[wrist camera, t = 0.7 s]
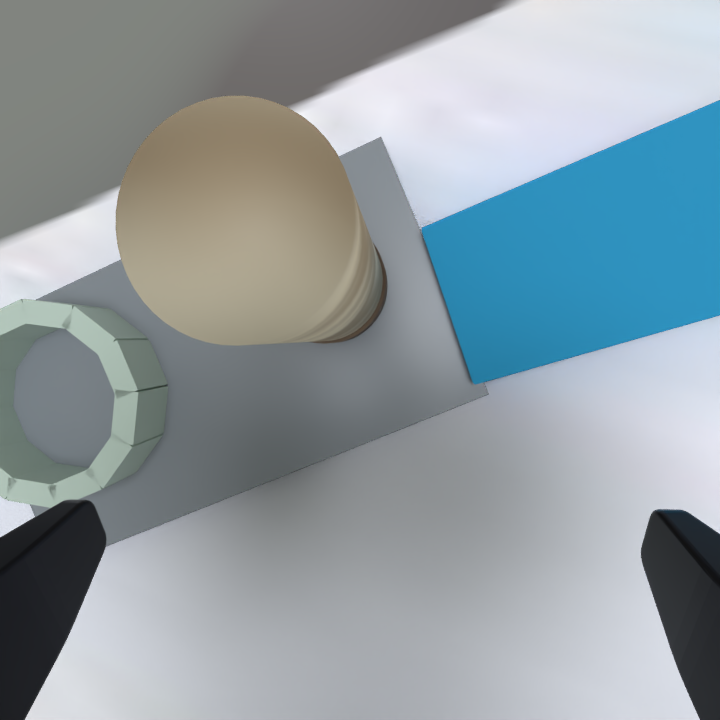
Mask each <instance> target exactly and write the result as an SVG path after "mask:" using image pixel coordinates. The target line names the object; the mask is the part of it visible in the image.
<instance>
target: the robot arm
mask: <svg viewBox="0 0 720 720" xmlns="http://www.w3.org/2000/svg"><path fill="white" fill-rule="evenodd" d="M106 541H107V538H106V532H105V530H104V527H103V525H102V522H101V520H100V517H99V515H98V512H97V510H96V507H95V505H94V504H93V503H92V502H91V501H89V500H76V499H69V500H64V501H62V502H60V503H58V504H57V505H55V506H53V507H52V508H50V509H48V510H46V511H45V512H43V513H41V514H40V515H38V516H36V517H34V518H33V519H31V520H29V521H28V522H26V523H24V524H22V525H21V526H19V527H17V528H16V529H14V530H12V531H10V532H9V533H7V534H5V535H4V536H2V537H0V720H25V718H26V716H27V714H28V712H29V711H30V709H31V707H32V705H33V703H34V701H35V699H36V697H37V695H38V694H39V692H40V690H41V688H42V686H43V684H44V682H45V680H46V678H47V677H48V675H49V673H50V671H51V669H52V667H53V665H54V663H55V661H56V660H57V658H58V656H59V654H60V652H61V650H62V648H63V646H64V644H65V642H66V640H67V638H68V635H69V633H70V631H71V629H72V627H73V624H74V622H75V620H76V617H77V615H78V613H79V610H80V608H81V605H82V603H83V601H84V598H85V596H86V593H87V591H88V589H89V586H90V584H91V582H92V579H93V577H94V574H95V572H96V570H97V567H98V565H99V562H100V560H101V558H102V555H103V553H104V550H105V547H106ZM641 558H642V563H643V567H644V570H645V573H646V576H647V579H648V582H649V585H650V588H651V591H652V594H653V597H654V600H655V603H656V606H657V609H658V612H659V615H660V618H661V621H662V624H663V627H664V630H665V633H666V636H667V639H668V642H669V645H670V648H671V651H672V654H673V657H674V660H675V662H676V665H677V668H678V670H679V673H680V675H681V678H682V680H683V682H684V685H685V687H686V689H687V692H688V694H689V696H690V698H691V701H692V703H693V705H694V707H695V710H696V712H697V714H698V716H699V718H700V720H720V534H719V533H718V532H716V531H715V530H713V529H712V528H710V527H709V526H707V525H706V524H704V523H703V522H701V521H700V520H699V519H697V518H696V517H694V516H693V515H691V514H690V513H688V512H686V511H683V510H668V509H658V510H655V511H653V513H652V514H651V516H650V519H649V522H648V526H647V529H646V533H645V536H644V540H643V543H642V548H641Z"/></svg>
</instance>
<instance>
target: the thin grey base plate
mask: <svg viewBox="0 0 720 720" xmlns="http://www.w3.org/2000/svg"><path fill="white" fill-rule="evenodd" d="M339 159H340V161H341V163H342V164H343V166H344V169H345V171H346V174H347V177H348V179H349V182H350V184H351V187H352V190H353V192H354V195H355V197H356V200H357V203H358V205H359V208H360V211H361V213H362V216H363V218H364V221H365V224H366V226H367V229H368V231H369V234H370V237H371V239H372V242H373V243H374V245H375V246H376V248H377V250H378V251H379V253H380V256H381V258H382V261H383V264H384V267H385V270H386V275H387V283H388V287H387V296H386V301H385V304H384V307H383V309H382V311H381V313H380V315H379V316H378V318H377V320H376V321H375V322H374V323H373V324H372V326H370V327H369V328H368V329H367V330H366V331H365V332H363V333H362V334H361V335H359V336H357V337H355V338H353V339H350V340H347V341H343V342H337V343H326V344H323V343H312V342H298V343H279V344H259V345H240V346H233V345H219V344H213V343H207V342H204V341H201V340H198V339H194V338H192V337H189V336H187V335H185V334H183V333H181V332H179V331H177V330H176V329H174V328H172V327H171V326H169V325H168V324H166V323H165V322H164V321H162V320H161V319H160V318H159V317H158V316H157V315H155V314H154V313H153V312H152V311H151V310H150V308H149V307H148V306H147V305H146V304H145V303H144V302H143V301H142V299H141V298H140V296H139V295H138V293H137V292H136V291H135V289H134V287H133V286H132V284H131V282H130V280H129V278H128V276H127V274H126V271H125V269H124V266H123V263H122V261H121V260H119V261H117V262H115V263H113V264H111V265H108V266H106V267H104V268H102V269H100V270H98V271H96V272H94V273H91V274H89V275H87V276H85V277H83V278H81V279H79V280H77V281H75V282H72V283H70V284H68V285H66V286H64V287H62V288H60V289H58V290H55V291H53V292H51V293H49V294H47V295H45V296H43V297H41V298H39V299H36V300H29V299H20V300H18V301H16V302H14V303H12V304H10V305H8V306H6V307H3V308H1V309H0V496H1V497H2V498H3V499H7V500H8V501H14V502H19V503H25V504H30V506H31V508H32V511H33V513H34V515H35V517H36V516H38V515H40V514H41V513H43V512H45V511H46V510H48V509H50V508H52V507H53V506H55V505H57V504H58V503H60V502H62V501H64V500H69V499H76V500H89V501H91V502H92V503H93V504H94V505H95V507H96V510H97V512H98V515H99V517H100V520H101V522H102V525H103V527H104V530H105V532H106V538H107V541H106V546H109V545H111V544H114V543H116V542H119V541H121V540H124V539H126V538H129V537H131V536H134V535H136V534H139V533H141V532H144V531H146V530H149V529H151V528H154V527H156V526H159V525H161V524H164V523H166V522H169V521H171V520H174V519H176V518H179V517H181V516H184V515H187V514H189V513H192V512H194V511H197V510H199V509H202V508H204V507H207V506H209V505H212V504H214V503H217V502H219V501H222V500H224V499H227V498H229V497H232V496H234V495H237V494H239V493H242V492H244V491H247V490H249V489H252V488H254V487H257V486H259V485H262V484H264V483H267V482H269V481H272V480H275V479H277V478H280V477H282V476H285V475H287V474H290V473H292V472H295V471H297V470H300V469H302V468H305V467H307V466H310V465H312V464H315V463H317V462H320V461H322V460H325V459H327V458H330V457H332V456H335V455H337V454H340V453H342V452H345V451H347V450H350V449H352V448H355V447H357V446H360V445H363V444H365V443H368V442H370V441H373V440H375V439H378V438H380V437H383V436H385V435H388V434H390V433H393V432H395V431H398V430H400V429H403V428H405V427H408V426H410V425H413V424H415V423H418V422H420V421H423V420H425V419H428V418H430V417H433V416H435V415H438V414H440V413H443V412H445V411H448V410H451V409H453V408H456V407H458V406H461V405H463V404H466V403H468V402H471V401H473V400H476V399H478V398H481V397H483V396H486V395H488V391H487V389H486V386H485V384H484V382H483V383H480V384H476V385H475V384H474V383H473V382H472V379H471V376H470V373H469V370H468V367H467V364H466V361H465V358H464V355H463V352H462V349H461V346H460V343H459V340H458V337H457V334H456V331H455V328H454V326H453V323H452V320H451V317H450V314H449V311H448V308H447V305H446V302H445V299H444V296H443V293H442V290H441V287H440V284H439V281H438V278H437V275H436V272H435V269H434V266H433V263H432V260H431V257H430V254H429V251H428V248H427V246H426V243H425V241H424V238H423V236H422V233H421V231H420V229H419V226H418V224H417V221H416V219H415V217H414V214H413V212H412V209H411V207H410V205H409V202H408V200H407V198H406V195H405V193H404V190H403V188H402V186H401V183H400V181H399V178H398V176H397V174H396V171H395V169H394V166H393V164H392V162H391V159H390V157H389V154H388V152H387V150H386V147H385V145H384V143H383V140H382V138H381V137H379V138H377V139H375V140H373V141H371V142H369V143H367V144H365V145H363V146H360V147H358V148H356V149H354V150H352V151H350V152H348V153H346V154H343V155H341V156H339Z"/></svg>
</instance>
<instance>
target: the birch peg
mask: <svg viewBox="0 0 720 720" xmlns="http://www.w3.org/2000/svg"><path fill="white" fill-rule="evenodd" d="M116 235H117V244H118V248H119V253H120V257H121V261H122V263H123V266H124V269H125V271H126V274H127V276H128V278H129V280H130V282H131V284H132V286H133V287H134V289H135V291H136V292H137V293H138V295H139V296H140V298H141V299H142V301H143V302H144V303H145V304H146V305H147V306H148V307H149V308H150V310H151V311H152V312H153V313H154V314H155V315H157V316H158V317H159V318H160V319H161V320H162V321H164V322H165V323H166V324H168V325H169V326H171V327H172V328H174V329H176V330H177V331H179V332H181V333H183V334H185V335H187V336H189V337H192V338H194V339H198V340H201V341H204V342H207V343H213V344H219V345H233V346H240V345H259V344H279V343H298V342H312V343H323V344H326V343H337V342H343V341H347V340H350V339H353V338H355V337H357V336H359V335H361V334H362V333H363V332H365V331H366V330H367V329H368V328H369V327H370V326H372V324H373V323H374V322H375V321H376V320H377V318H378V316H379V315H380V313H381V311H382V309H383V307H384V304H385V301H386V296H387V287H388V283H387V275H386V270H385V267H384V264H383V261H382V258H381V256H380V253H379V251H378V250H377V248H376V246H375V245H374V243H373V242H372V239H371V237H370V234H369V231H368V229H367V226H366V224H365V221H364V218H363V216H362V213H361V211H360V208H359V205H358V203H357V200H356V197H355V195H354V192H353V190H352V187H351V184H350V182H349V179H348V177H347V174H346V171H345V169H344V166H343V164H342V163H341V161H340V159H339V157H338V155H337V153H336V151H335V150H334V149H333V147H332V146H331V144H330V143H329V142H328V140H327V139H326V138H325V137H324V136H323V135H322V133H321V132H320V131H319V130H318V129H317V128H316V127H315V126H314V125H312V124H311V123H310V122H309V121H307V120H306V119H305V118H304V117H302V116H301V115H299V114H298V113H296V112H294V111H293V110H291V109H289V108H287V107H285V106H282V105H280V104H278V103H275V102H272V101H269V100H265V99H261V98H256V97H248V96H224V97H217V98H211V99H208V100H204V101H201V102H197V103H195V104H193V105H190V106H188V107H186V108H184V109H182V110H180V111H178V112H177V113H175V114H174V115H172V116H170V117H169V118H168V119H166V120H165V121H164V122H162V123H161V124H160V125H159V126H158V127H156V129H154V130H153V132H152V133H151V134H150V135H149V136H148V137H147V138H146V139H145V141H144V142H143V143H142V144H141V146H140V147H139V149H138V150H137V152H136V153H135V155H134V156H133V158H132V160H131V162H130V164H129V165H128V168H127V170H126V173H125V175H124V178H123V180H122V183H121V187H120V191H119V195H118V201H117V208H116Z"/></svg>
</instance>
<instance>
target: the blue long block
mask: <svg viewBox="0 0 720 720" xmlns="http://www.w3.org/2000/svg"><path fill="white" fill-rule="evenodd" d="M421 231H422V234H423V237H424V240H425V243H426V246H427V248H428V251H429V254H430V257H431V260H432V263H433V266H434V269H435V272H436V275H437V278H438V281H439V284H440V287H441V290H442V293H443V296H444V299H445V302H446V305H447V308H448V311H449V314H450V317H451V320H452V323H453V326H454V328H455V331H456V334H457V337H458V340H459V343H460V346H461V349H462V352H463V355H464V358H465V361H466V364H467V367H468V370H469V373H470V376H471V379H472V382H473V383H474V384H475V385H476V384H480V383H483V382H487V381H490V380H494V379H497V378H501V377H504V376H508V375H511V374H515V373H518V372H522V371H525V370H529V369H532V368H536V367H539V366H543V365H547V364H550V363H554V362H557V361H561V360H564V359H568V358H571V357H575V356H578V355H582V354H585V353H589V352H592V351H596V350H599V349H603V348H606V347H610V346H613V345H617V344H621V343H624V342H628V341H631V340H635V339H638V338H642V337H645V336H649V335H652V334H656V333H659V332H663V331H666V330H670V329H673V328H677V327H680V326H684V325H687V324H691V323H695V322H698V321H702V320H705V319H709V318H712V317H716V316H719V315H720V100H719V101H716V102H714V103H712V104H709V105H707V106H705V107H702V108H700V109H698V110H696V111H693V112H691V113H689V114H686V115H684V116H682V117H679V118H677V119H675V120H672V121H670V122H668V123H665V124H663V125H661V126H658V127H656V128H654V129H651V130H649V131H647V132H644V133H642V134H640V135H637V136H635V137H633V138H630V139H628V140H626V141H623V142H621V143H619V144H616V145H614V146H612V147H609V148H607V149H605V150H602V151H600V152H598V153H595V154H593V155H591V156H588V157H586V158H584V159H581V160H579V161H577V162H574V163H572V164H570V165H567V166H565V167H563V168H560V169H558V170H556V171H553V172H551V173H549V174H546V175H544V176H542V177H539V178H537V179H535V180H532V181H530V182H528V183H525V184H523V185H521V186H518V187H516V188H514V189H511V190H509V191H507V192H504V193H502V194H500V195H497V196H495V197H493V198H490V199H488V200H486V201H483V202H481V203H479V204H477V205H474V206H472V207H470V208H467V209H465V210H463V211H460V212H458V213H456V214H453V215H451V216H449V217H446V218H444V219H442V220H439V221H437V222H435V223H432V224H430V225H428V226H425V227H423V228H422V230H421Z"/></svg>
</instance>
